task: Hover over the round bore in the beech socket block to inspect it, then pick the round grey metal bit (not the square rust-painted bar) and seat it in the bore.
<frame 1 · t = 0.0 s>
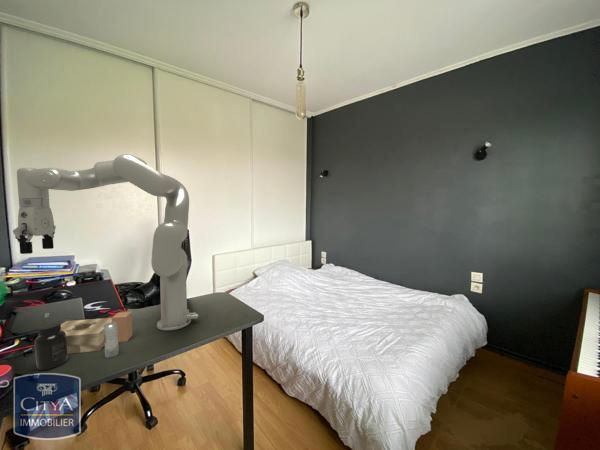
hand: (37, 251, 91), 31 cm above the table, fingers open, 9 cm apart
supplement bottle: (52, 364, 77), on the table
socket block: (82, 343, 88), on the table
round metal bit: (111, 354, 82), on the table
square rust bit: (122, 338, 91), on the table
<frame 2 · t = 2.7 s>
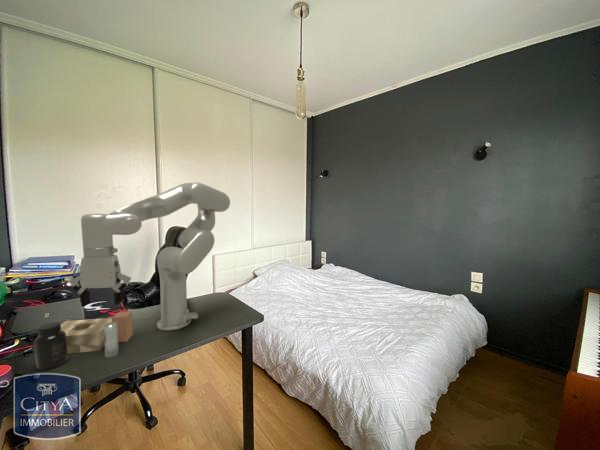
hand: (102, 303, 82), 16 cm above the table, fingers open, 9 cm apart
nothing on the table moved.
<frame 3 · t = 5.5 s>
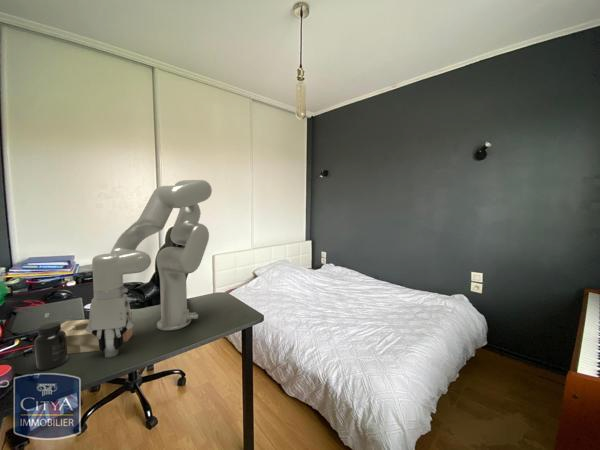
hand: (111, 347, 82), 2 cm above the table, fingers closed on round metal bit, 3 cm apart
round metal bit: (111, 354, 82), on the table, touching gripper
everything else where it was.
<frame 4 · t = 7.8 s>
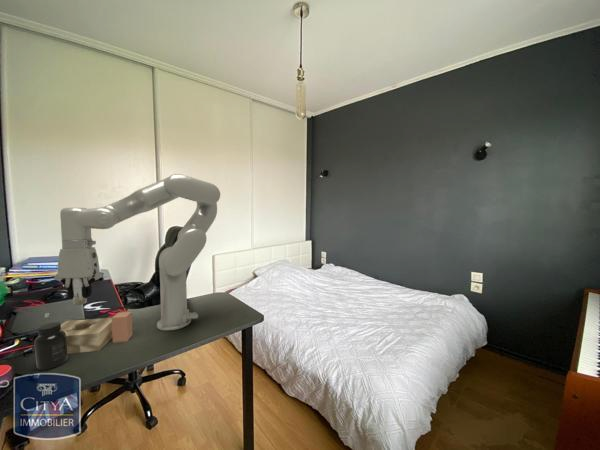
hand: (80, 296, 86), 17 cm above the table, fingers closed on round metal bit, 3 cm apart
round metal bit: (80, 303, 87), point 14 cm above the table, touching gripper
everything else where it was.
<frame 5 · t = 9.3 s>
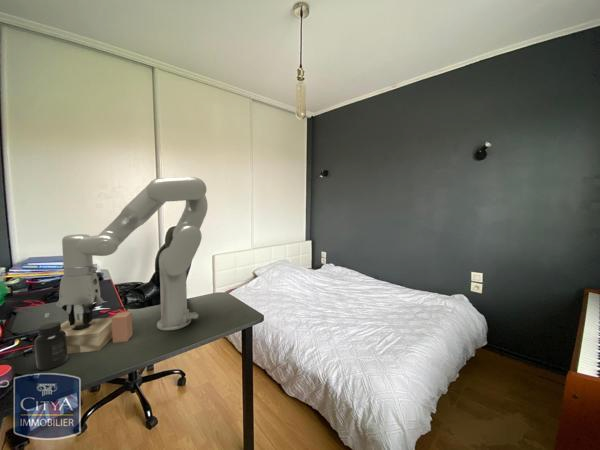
hand: (81, 322, 87), 8 cm above the table, fingers closed on round metal bit, 3 cm apart
round metal bit: (81, 329, 87), point 5 cm above the table, touching gripper
everything else where it was.
when the fingers open (7 cm above the table, at t = 10.2 s): round metal bit drops 4 cm, resting in socket block.
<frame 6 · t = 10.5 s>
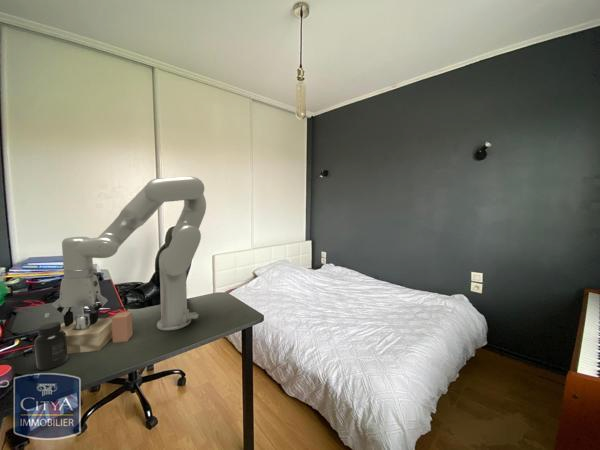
hand: (81, 323, 87), 7 cm above the table, fingers open, 6 cm apart
round metal bit: (83, 343, 88), resting in socket block
everything else where it was.
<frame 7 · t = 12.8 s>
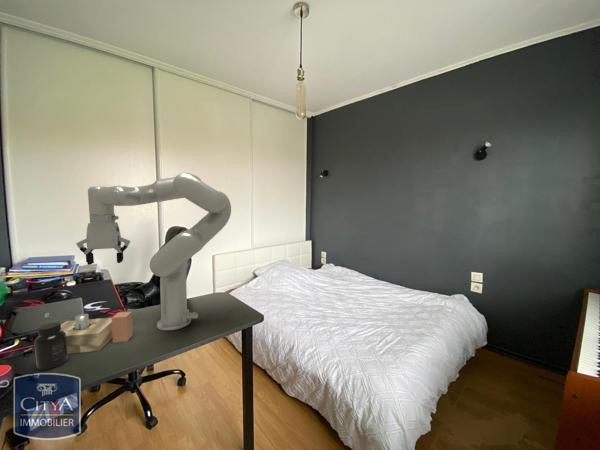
hand: (105, 263, 98), 26 cm above the table, fingers open, 9 cm apart
nothing on the table moved.
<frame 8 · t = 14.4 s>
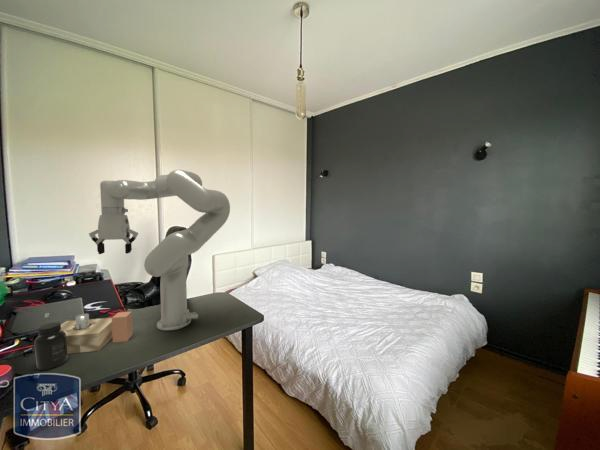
hand: (115, 253, 104), 28 cm above the table, fingers open, 9 cm apart
nothing on the table moved.
at the end: round metal bit 0.2 cm off-centre on the socket block, point 0.0 cm above the socket block's base; round metal bit tilted 1°; the gripper is holding nothing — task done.
